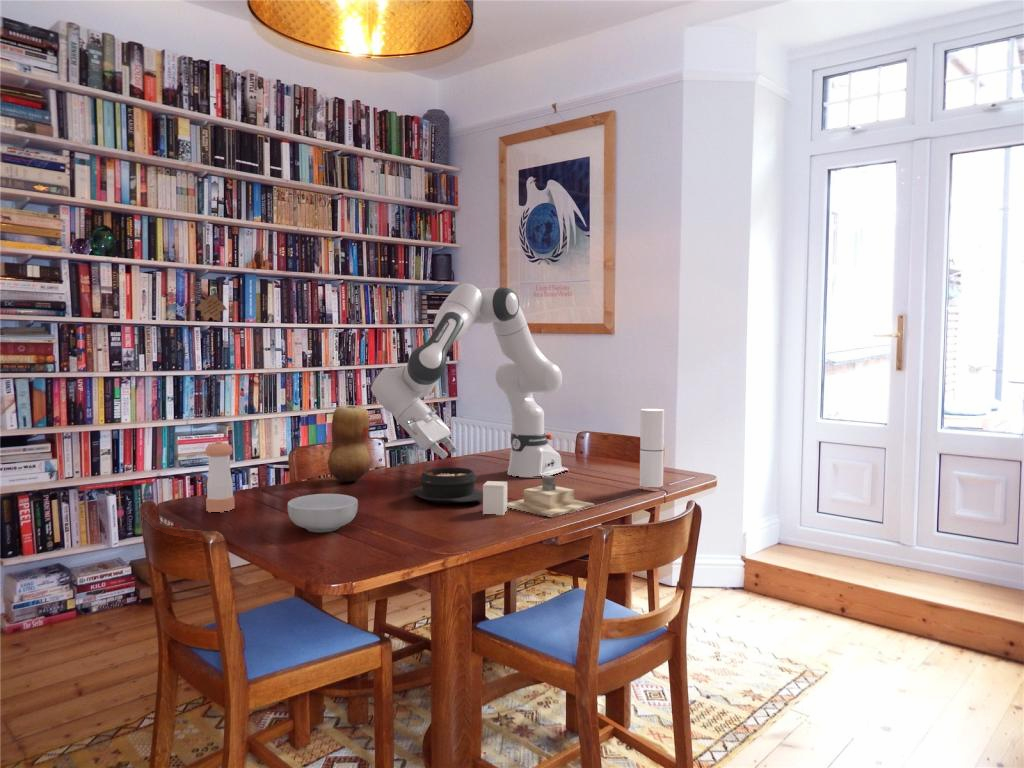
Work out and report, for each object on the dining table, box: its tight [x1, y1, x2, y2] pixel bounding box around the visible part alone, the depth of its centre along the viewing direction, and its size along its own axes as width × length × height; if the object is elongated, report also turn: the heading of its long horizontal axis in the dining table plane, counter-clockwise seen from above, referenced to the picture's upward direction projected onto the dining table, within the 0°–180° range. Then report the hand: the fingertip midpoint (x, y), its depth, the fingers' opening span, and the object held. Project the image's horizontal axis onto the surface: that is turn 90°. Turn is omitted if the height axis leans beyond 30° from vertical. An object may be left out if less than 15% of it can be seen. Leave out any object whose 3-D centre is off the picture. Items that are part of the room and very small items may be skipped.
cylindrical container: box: [639, 408, 665, 487], centre depth 232 cm, size 7×7×25 cm
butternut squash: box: [327, 404, 371, 483], centre depth 243 cm, size 14×13×25 cm
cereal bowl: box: [287, 493, 359, 533], centre depth 185 cm, size 17×17×7 cm
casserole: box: [409, 466, 483, 505], centre depth 218 cm, size 25×19×8 cm
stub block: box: [507, 476, 595, 518], centre depth 208 cm, size 18×18×8 cm
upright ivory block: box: [482, 480, 508, 516], centre depth 202 cm, size 6×6×8 cm
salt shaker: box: [204, 440, 236, 513], centre depth 204 cm, size 7×7×19 cm
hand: (450, 454), depth 203 cm, fingers open, 8 cm apart
